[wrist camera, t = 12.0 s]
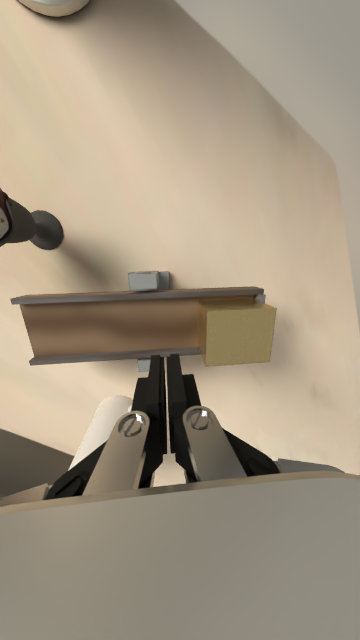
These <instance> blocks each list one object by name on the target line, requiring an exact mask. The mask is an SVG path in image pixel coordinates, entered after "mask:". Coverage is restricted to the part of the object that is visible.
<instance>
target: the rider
mask: <svg viewBox="0 0 360 640" xmlns="http://www.w3.org/2000/svg"><path fill="white" fill-rule="evenodd" d="M276 309H277V308H275V307H272V306H270V305H267V304H265V303H262V302H260V301H257V300H254V299H240V300H216V301H198V326H197V346H198V349H199V351H200V354H201V356H202V358H203V361H204V363H205V365H206V366H220V365H234V364H248V363H262V362H269V361H270V354H271V346H272V339H273V331H274V324H275V316H276Z"/></svg>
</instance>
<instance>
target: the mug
mask: <svg viewBox="0 0 360 640" xmlns="http://www.w3.org/2000/svg"><path fill="white" fill-rule="evenodd" d="M132 403H133V400H132V399H130V398H128V397H126V396H121V395H116V396H111V397H108V398H106V399H105V400H103V401H102V402H101V403H100V405H99V406H98V408H97V410H96V413H95V415H94V417H93V419H92V421H91V423H90V425H89V427H88V430H87V432H86V434H85V436H84V438H83V440H82V442H81V444H80V447H79V449H78V451H77V453H76V455H75V457H74V460H73V462H72V464H71V466H70V468H69V470H70V469H71V468H72V467H74V466H75V465H76V464H78V463H79V462H80V461H81V460H83V459H84V458H85V457H86V456H88V455H89V454H90V453H92V452H93V451H94V450H95V449H97V448H98V447H99V446H100V445H102V444H103V443H104V442H106V441H107V440H108V438H109V436H110V434H111V432H112V430H113V428H114V425H115V423H116V422H117V420H118V419H119V418H120V417H121V416H122V415H124V414H126V413H128V412H131V408H132ZM69 470H68V471H69Z"/></svg>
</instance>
